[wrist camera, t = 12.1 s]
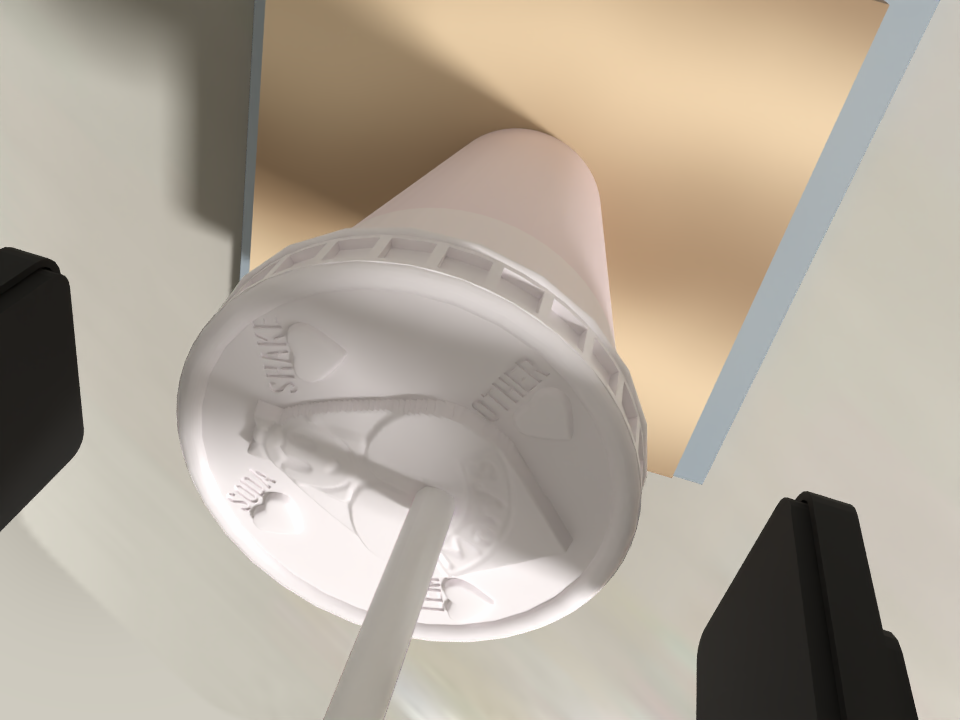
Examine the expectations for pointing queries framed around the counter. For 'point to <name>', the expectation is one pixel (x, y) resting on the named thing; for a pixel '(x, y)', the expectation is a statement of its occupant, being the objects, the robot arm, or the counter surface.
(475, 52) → the oak riser
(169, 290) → the counter surface
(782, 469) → the counter surface
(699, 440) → the base board
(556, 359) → the smoothie
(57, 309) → the robot arm
